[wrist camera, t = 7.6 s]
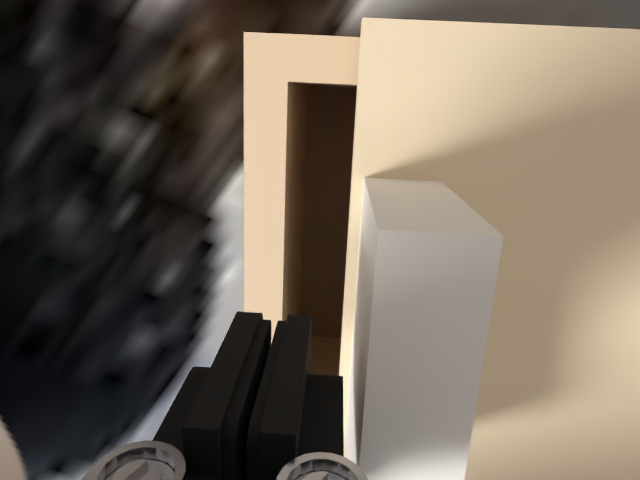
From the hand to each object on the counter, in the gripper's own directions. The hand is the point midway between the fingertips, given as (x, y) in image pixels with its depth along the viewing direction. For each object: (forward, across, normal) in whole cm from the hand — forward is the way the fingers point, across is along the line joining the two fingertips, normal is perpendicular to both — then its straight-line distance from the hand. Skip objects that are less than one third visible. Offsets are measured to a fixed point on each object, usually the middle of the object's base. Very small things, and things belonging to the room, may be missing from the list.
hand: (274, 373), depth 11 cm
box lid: (+4, -9, 0) cm, 10 cm away
